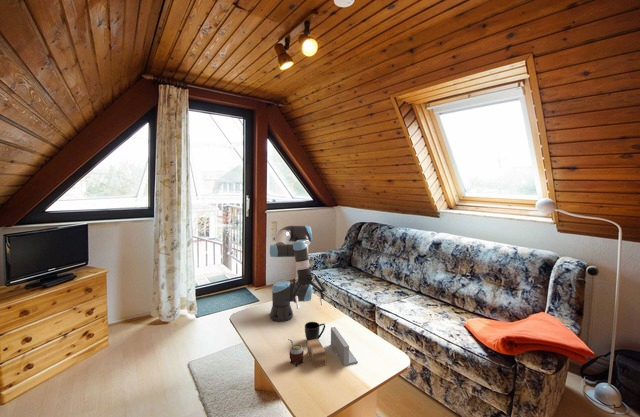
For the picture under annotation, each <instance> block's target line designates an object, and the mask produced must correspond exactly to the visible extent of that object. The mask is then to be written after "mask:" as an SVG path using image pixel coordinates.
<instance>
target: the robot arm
mask: <svg viewBox="0 0 640 417" xmlns="http://www.w3.org/2000/svg"><path fill="white" fill-rule="evenodd" d="M289 242H291V243H289ZM311 242H313V234H312V227H311V226H310V225H288V226H284V227H282V228H280V230H278V231H277V235H276V241H275V243H274V244H272V243H271V244H270V245H269V256H270V257H271V258H294V260H295V278H292V279H293V280H292V282H291V281H290V280H285V279H283V280H279V281H276V282H274V283H273V284H272V287H271V288H272V290H271V296H272V299H271V300H272V306H271V310H270V312H269V318H270V320H272V321H273V322H279V323H281V322H287V321H291V319H292V318H293V317H294V313H293V309H292V306H291V302H293V303H295V304H296V309H297V310H299V309H300V303H301V302H303V303H304V302H310V301H311V300H312V297H313V296H312V295H313V288H314V289H316V291H318V292H319V293H318V295H319V302H320V306H323V305H324V303H323V299H324V292H325V291H326V289H327V288H325V286H324V284H323V283H322V282H321V280H320V279H319V277H318V275H317V274H315V275H312V271H311V268H310V267H311V264H310V260H309V245H311ZM288 243H289V244H288ZM313 280H314V281H315V282H316V283H317V284H318V285H317V284H316V283H315V282H314V281H313Z"/></svg>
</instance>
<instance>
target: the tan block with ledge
mask: <svg viewBox="0 0 640 417" xmlns="http://www.w3.org/2000/svg"><path fill="white" fill-rule="evenodd" d="M306 346H307V347H306V348H307V349H306V350H307V351H306V354H307V356H308V358H309V360H310V362H311V364H312V366H313V368H319V367H322V366H327V365H326V364H327V363H326V354H327V352H326V350H325V348H324V347H323V345H322V343H321V341H320V338H319V339H314V340H308V341H307V340H306Z"/></svg>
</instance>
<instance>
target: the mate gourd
mask: <svg viewBox="0 0 640 417" xmlns="http://www.w3.org/2000/svg"><path fill="white" fill-rule="evenodd" d="M287 340H288V341H290V343H291V347H290V348H289V360H290V361H289V363H290V364H294V365H295V367H298V364H302V363H304V361H303V360H304V348H303V346H302V345H300V344H293V340H292V339H289V338H288V339H287Z"/></svg>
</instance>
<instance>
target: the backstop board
mask: <svg viewBox="0 0 640 417" xmlns="http://www.w3.org/2000/svg"><path fill="white" fill-rule="evenodd" d="M330 346H331V347H332V349H333V351H334V352H335V353H336V354H335V355H337V356H338V359H339V360H340V362H341V363H342V364H343V366H344V367H347V366H350V365H356V364H358V360H357V358H356V357H355V355H354V354H353V353H352V352H351V350H350V345H349V344H348V343H347V341H346V340H345V338H344V337H343V336H342V334H341V333H340V332H339V330H338V329H337V327H336V326H332V327H330Z"/></svg>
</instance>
